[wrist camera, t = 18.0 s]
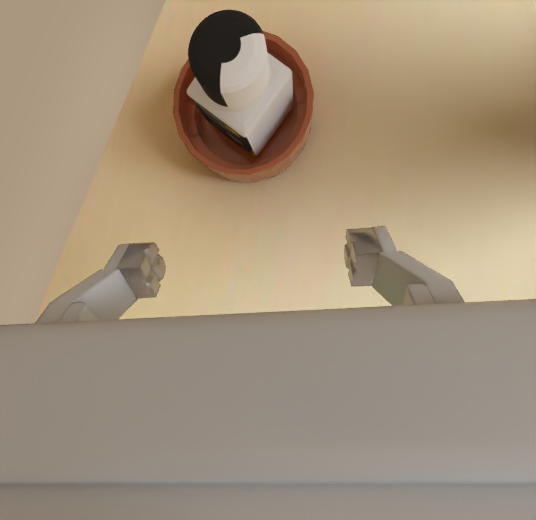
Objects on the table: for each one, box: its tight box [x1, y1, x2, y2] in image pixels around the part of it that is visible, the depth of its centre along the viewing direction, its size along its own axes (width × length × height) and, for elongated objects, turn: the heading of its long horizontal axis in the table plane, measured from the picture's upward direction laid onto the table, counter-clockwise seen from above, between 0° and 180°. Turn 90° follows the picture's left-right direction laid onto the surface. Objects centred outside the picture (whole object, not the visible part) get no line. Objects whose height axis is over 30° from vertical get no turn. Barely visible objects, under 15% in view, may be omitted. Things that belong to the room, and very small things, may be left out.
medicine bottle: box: [187, 10, 293, 157], centre depth 28 cm, size 7×7×12 cm
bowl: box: [173, 31, 314, 182], centre depth 32 cm, size 14×14×4 cm
